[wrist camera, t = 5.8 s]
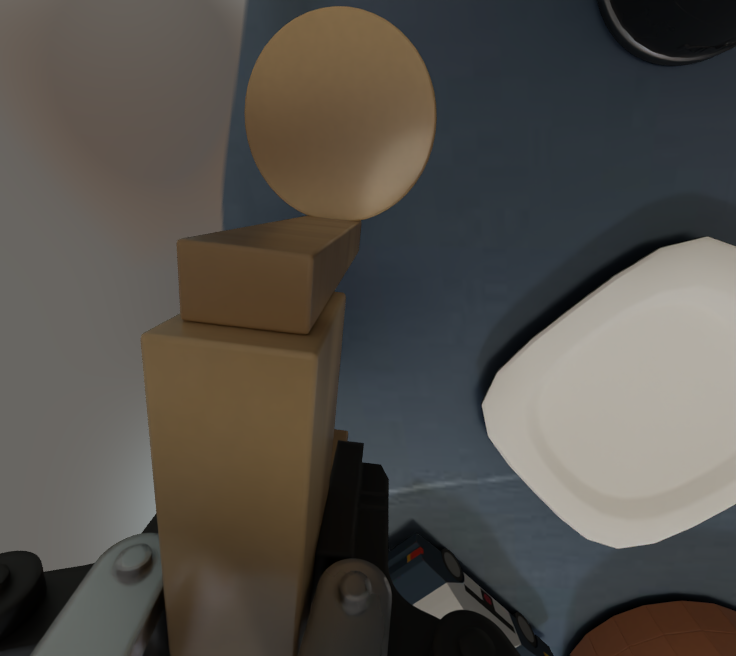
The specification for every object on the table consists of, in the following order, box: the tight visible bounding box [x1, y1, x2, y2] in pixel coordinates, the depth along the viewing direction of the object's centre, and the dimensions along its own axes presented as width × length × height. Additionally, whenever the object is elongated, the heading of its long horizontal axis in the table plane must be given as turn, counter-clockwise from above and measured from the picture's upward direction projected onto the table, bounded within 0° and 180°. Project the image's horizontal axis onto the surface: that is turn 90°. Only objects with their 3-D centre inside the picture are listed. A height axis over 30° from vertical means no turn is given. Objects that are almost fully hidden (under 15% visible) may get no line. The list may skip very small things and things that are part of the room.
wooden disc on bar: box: [141, 6, 437, 656], centre depth 9 cm, size 15×5×10 cm, turn 174°
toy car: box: [388, 533, 553, 656], centre depth 29 cm, size 5×16×5 cm, turn 45°
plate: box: [481, 237, 736, 549], centre depth 24 cm, size 18×18×2 cm
